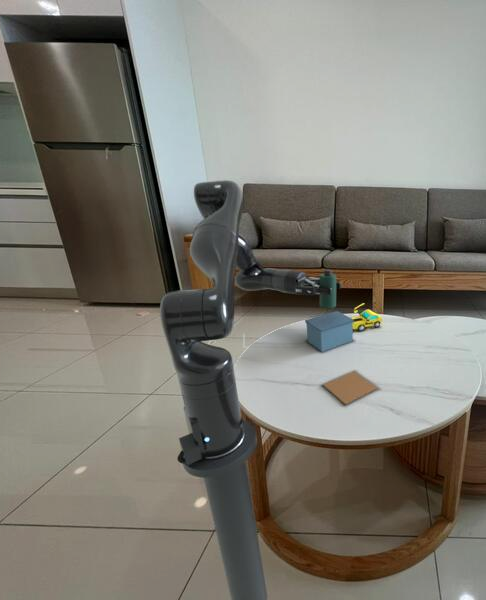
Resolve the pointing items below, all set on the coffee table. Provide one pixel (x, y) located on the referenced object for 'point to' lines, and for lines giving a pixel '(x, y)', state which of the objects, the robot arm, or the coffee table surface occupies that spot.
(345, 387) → the mat
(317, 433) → the coffee table surface
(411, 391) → the coffee table surface
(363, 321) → the toy car
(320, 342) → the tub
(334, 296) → the bottle
